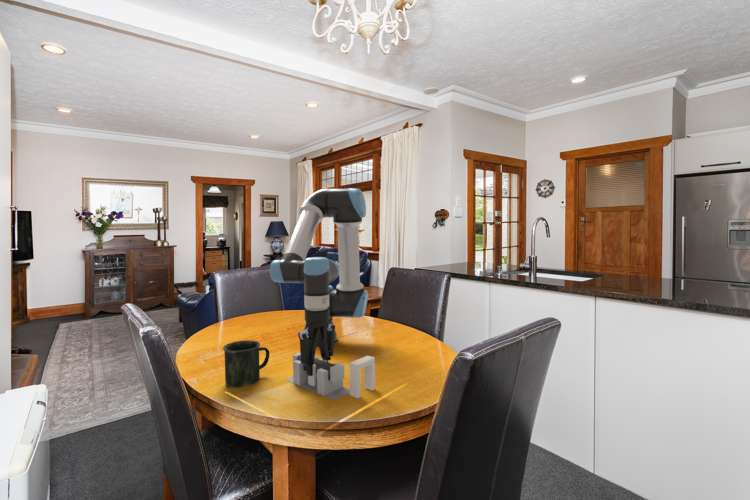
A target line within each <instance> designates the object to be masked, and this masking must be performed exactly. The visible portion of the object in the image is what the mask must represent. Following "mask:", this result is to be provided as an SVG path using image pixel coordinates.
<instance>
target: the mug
mask: <svg viewBox="0 0 750 500" xmlns="http://www.w3.org/2000/svg"><path fill="white" fill-rule="evenodd" d="M222 350H223V351H224V378H225V380H224V381H225V385H226V386H227V387H228V388H230V387H231V388H243V387H248V386H252V385H254V384H256V383H258V382H259V380H260V375H261V374H260V371H261V370H262V369H264V368H265V367H266V366H267V364H268V362H269V359H270V351H269V349H268V348H267V347H265V346H264V347H262V346H261V342H259V341H256V340H252V339H251V340H250V339H247V340H238V341H233V342H232V341H231V342H230V343H226V344H225V345H224V346H223V347H222ZM260 351H265V357H264V360H263V362H262V363H261V364H260Z"/></svg>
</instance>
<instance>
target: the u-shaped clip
mask: <svg viewBox="0 0 750 500" xmlns="http://www.w3.org/2000/svg"><path fill="white" fill-rule="evenodd" d="M361 369H364V389H366V390H369V391H374V390H375V389H376V357H374V356H370V355H365V356H363V357H361V358H358V359H356V360H353V361H351V362H349V389H350V392H349V396H350V397H353V398H354V399H359V398H361V396H362V395H361V394H362V393H361V392H362V389H361V385H362V383H361V381H362V378H361V377H362V376H361V375H362V373H361V371H362V370H361Z"/></svg>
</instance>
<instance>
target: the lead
mask: <svg viewBox="0 0 750 500" xmlns="http://www.w3.org/2000/svg"><path fill="white" fill-rule="evenodd" d="M319 359H320V358H318V359H316V358H314V364H315V365H316V373H317V370H318V369H321V368H322V369H325V370H328V377H329V378H330V381H331V382H334V383H335V382H337V381H340V380H342V379H343V380H345V378H346V377H345V375H346V374H345V364H343V363H339V364H338V365H335V364H333V363H331V362H329V361H328V362H325V361H322V360H319ZM296 360H299V361H301V355H300V352H297V353H294V354H292V362H293V361H296ZM303 368H304V369H307V365H304V364H303Z"/></svg>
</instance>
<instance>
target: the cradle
mask: <svg viewBox="0 0 750 500" xmlns="http://www.w3.org/2000/svg"><path fill="white" fill-rule="evenodd" d="M315 358H316V359H319V356H318V355H315ZM332 364H335V365H338V364H340V363H339V362H333V363H332ZM292 371H293V372H292V373H293V374H292V377H290V378H287V379H285V381H286V382H288V383H290V384H294V385H296V386H298V387H300V388H301V387H302V388H303V389H305V390H308V391H311V392H313V393H315V394H318V395H321V396H323V397H326V398H327V399H329V400H333V401H335V400H337V399H340V398H341V397H344V396H345V395H347V394H350V388H348V387H344V379H342V380H340V381H337V382H335V383H334V382H331V381H330V378H329V377H328V370H325V369H322V368H321V369H318V370H317V373H316V386H315V387H314V386H311V385H309V384H308V375H307V369H304V368H303V364H301V361H299V360H296V361H293V360H292Z"/></svg>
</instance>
